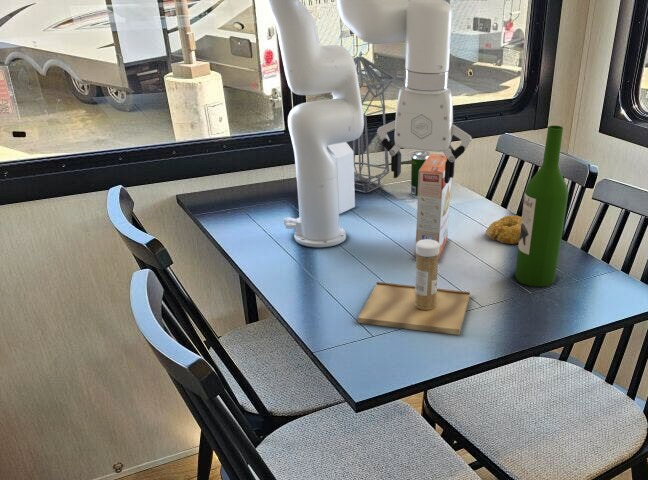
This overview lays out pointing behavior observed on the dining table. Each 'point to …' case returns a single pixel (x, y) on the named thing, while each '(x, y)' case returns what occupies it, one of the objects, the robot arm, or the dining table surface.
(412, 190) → the beer can
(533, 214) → the wine bottle
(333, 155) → the milk carton
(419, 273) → the sprinkles bottle
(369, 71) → the geometric lantern
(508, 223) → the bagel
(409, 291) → the board
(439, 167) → the cracker box
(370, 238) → the dining table surface
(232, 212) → the dining table surface
